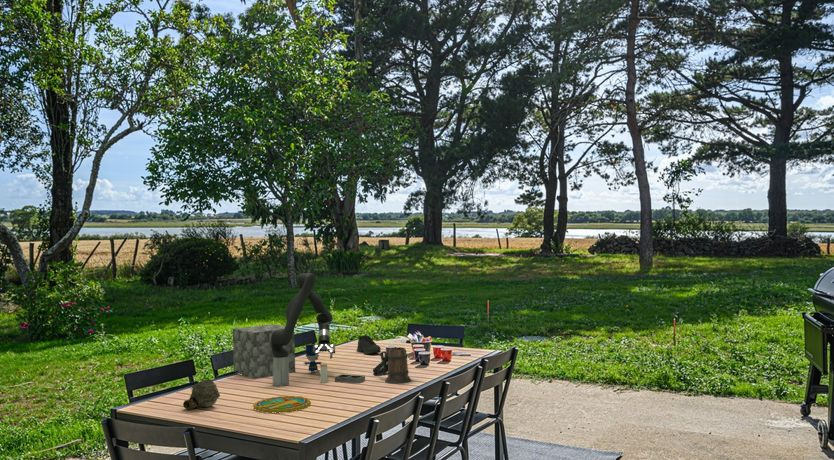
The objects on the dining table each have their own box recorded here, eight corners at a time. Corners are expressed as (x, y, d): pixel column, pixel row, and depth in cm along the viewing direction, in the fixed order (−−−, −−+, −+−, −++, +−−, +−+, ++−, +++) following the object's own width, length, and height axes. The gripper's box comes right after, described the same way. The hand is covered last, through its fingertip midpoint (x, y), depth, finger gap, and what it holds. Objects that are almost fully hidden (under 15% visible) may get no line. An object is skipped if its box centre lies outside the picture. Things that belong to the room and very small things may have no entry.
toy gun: (403, 365, 440) (393, 348, 436) (408, 366, 436) (397, 348, 431) (380, 386, 430) (369, 369, 426) (384, 388, 426) (373, 370, 421)
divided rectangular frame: (358, 383, 403) (358, 378, 403) (334, 381, 410) (334, 376, 410) (365, 380, 410) (364, 375, 410) (341, 379, 417) (341, 374, 417)
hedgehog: (216, 373, 360) (192, 373, 348) (224, 395, 352) (200, 396, 341) (199, 393, 366) (174, 394, 355) (206, 415, 359) (182, 417, 347)
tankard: (416, 379, 410) (416, 347, 410) (402, 384, 396) (402, 351, 396) (385, 376, 422) (384, 345, 422) (370, 381, 407) (369, 349, 407)
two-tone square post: (327, 382, 408) (326, 364, 408) (320, 382, 407) (320, 364, 407) (327, 381, 412) (327, 363, 412) (321, 381, 411) (320, 363, 411)
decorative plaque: (277, 412, 331) (241, 403, 350) (277, 417, 331) (241, 408, 350) (322, 399, 354) (286, 392, 373) (322, 404, 354) (286, 397, 373)
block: (254, 379, 424) (253, 332, 424) (233, 373, 446) (232, 328, 447) (295, 372, 444) (294, 327, 444) (273, 366, 466) (272, 324, 466)
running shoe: (372, 356, 494) (371, 338, 494) (351, 351, 519) (351, 334, 519) (384, 354, 501) (384, 336, 501) (364, 350, 525) (363, 332, 525)
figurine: (323, 371, 442) (323, 341, 442) (320, 374, 432) (319, 344, 432) (305, 371, 443) (304, 342, 443) (301, 374, 433) (300, 344, 434)
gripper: (312, 334, 426) (312, 355, 415) (334, 333, 428) (335, 354, 416) (313, 341, 431) (313, 362, 420) (335, 340, 433) (335, 361, 421)
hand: (324, 358), depth 418 cm, fingers open, 8 cm apart
